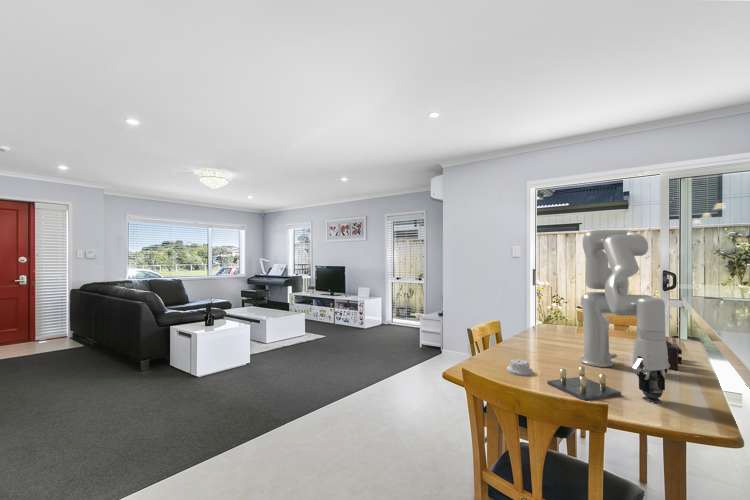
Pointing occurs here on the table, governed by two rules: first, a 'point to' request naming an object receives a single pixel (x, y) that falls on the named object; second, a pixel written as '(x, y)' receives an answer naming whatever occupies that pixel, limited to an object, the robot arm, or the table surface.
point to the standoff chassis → (583, 386)
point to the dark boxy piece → (672, 355)
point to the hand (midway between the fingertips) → (651, 389)
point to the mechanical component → (519, 367)
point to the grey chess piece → (653, 389)
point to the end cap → (679, 357)
